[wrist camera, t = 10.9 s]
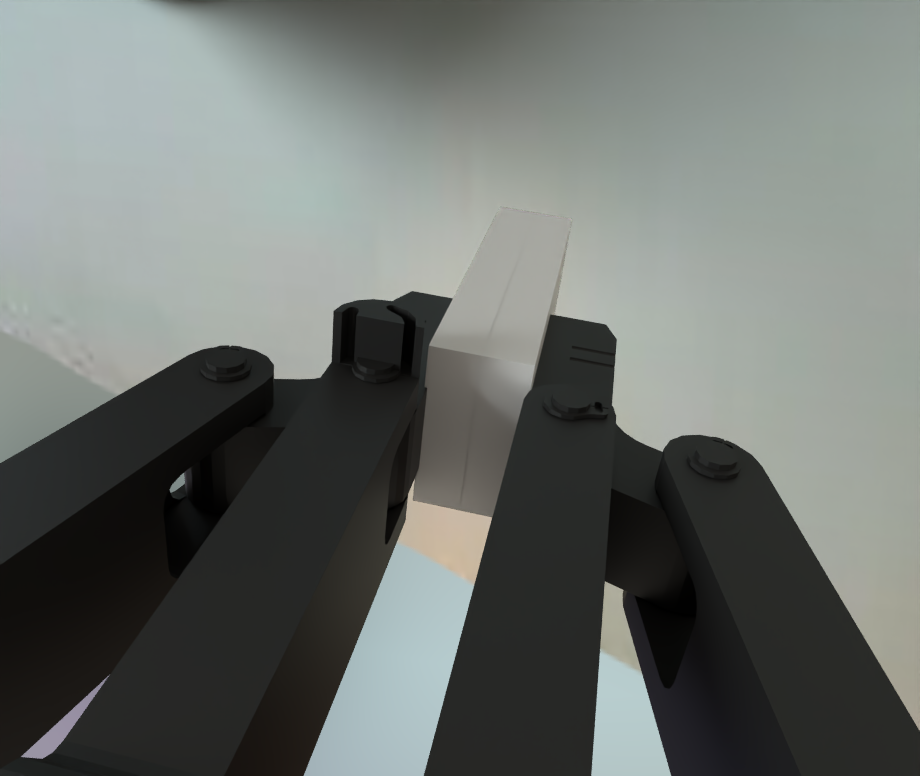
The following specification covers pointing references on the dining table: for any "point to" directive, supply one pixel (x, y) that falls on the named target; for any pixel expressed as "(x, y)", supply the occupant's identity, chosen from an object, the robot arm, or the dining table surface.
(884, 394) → the dining table surface
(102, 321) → the dining table surface
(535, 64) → the dining table surface
